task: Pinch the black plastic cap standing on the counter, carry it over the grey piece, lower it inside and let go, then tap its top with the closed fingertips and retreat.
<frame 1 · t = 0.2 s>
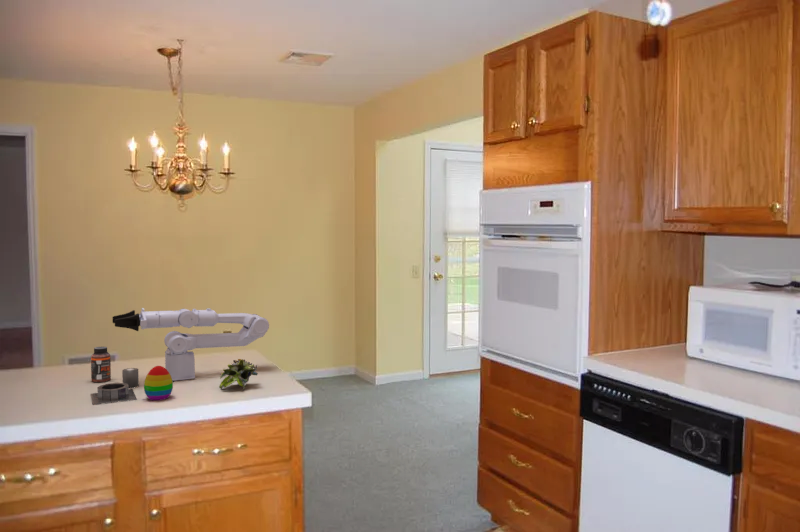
hand: (113, 321, 204), 21 cm above the worktop, tool horizontal, fingers open, 7 cm apart
grey piece: (113, 397, 192), on the worktop
cap: (130, 386, 205), on the worktop
green spiky piece: (239, 388, 204), on the worktop
decorative egg: (158, 398, 192), on the worktop
supplement bottle: (101, 381, 211), on the worktop
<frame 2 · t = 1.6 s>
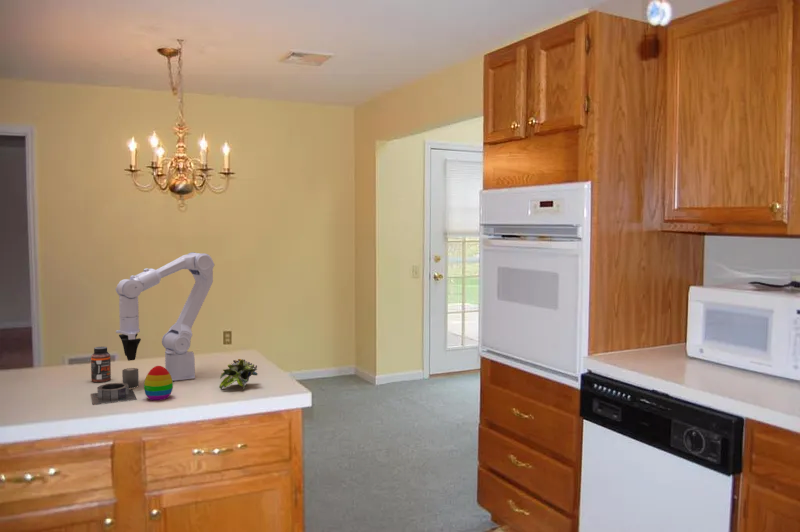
hand: (130, 357, 204), 9 cm above the worktop, tool pointing down, fingers open, 7 cm apart
nothing on the worktop moved.
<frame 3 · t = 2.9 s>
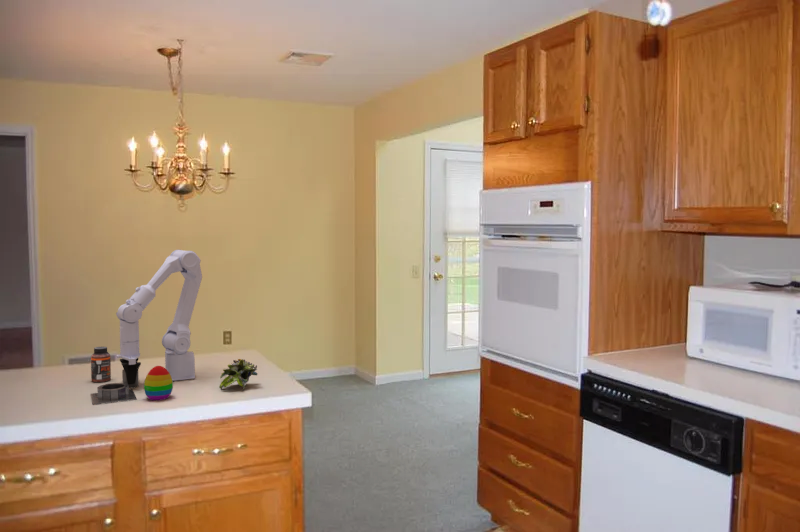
hand: (130, 381, 205), 1 cm above the worktop, tool pointing down, fingers closed on cap, 5 cm apart
cap: (130, 386, 205), on the worktop, touching gripper
everything else where it was.
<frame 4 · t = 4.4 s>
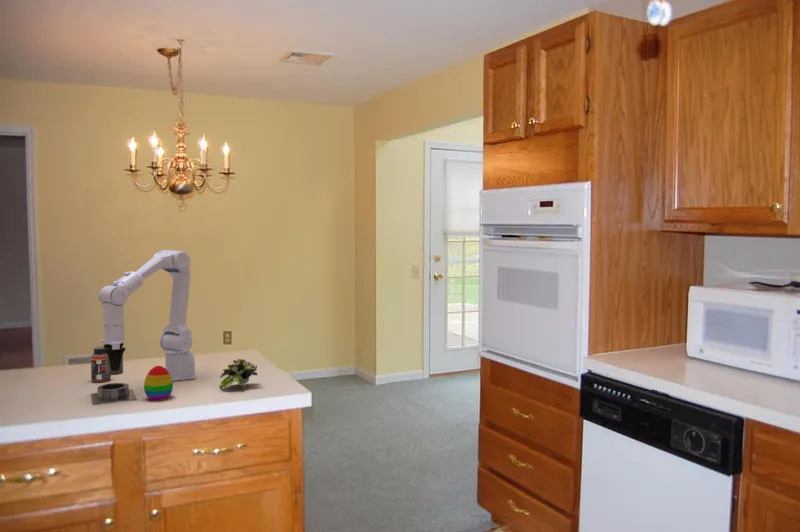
hand: (114, 368, 193), 9 cm above the worktop, tool pointing down, fingers closed on cap, 5 cm apart
cap: (114, 373, 193), point 7 cm above the worktop, touching gripper
everything else where it was.
when the fingers open (3 cm above the worktop, at t = 6.0 s): cap drops 2 cm, resting on grey piece.
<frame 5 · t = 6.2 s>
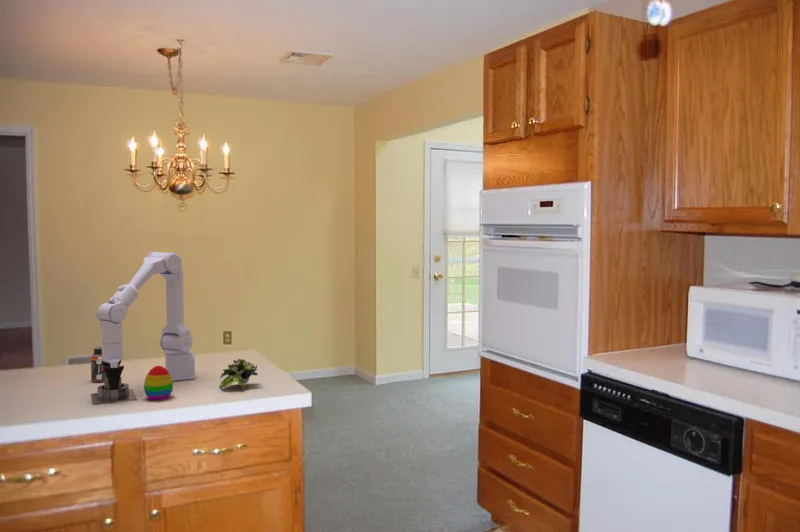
hand: (113, 386, 192), 3 cm above the worktop, tool pointing down, fingers open, 7 cm apart
cap: (113, 396, 192), resting on grey piece
everything else where it was.
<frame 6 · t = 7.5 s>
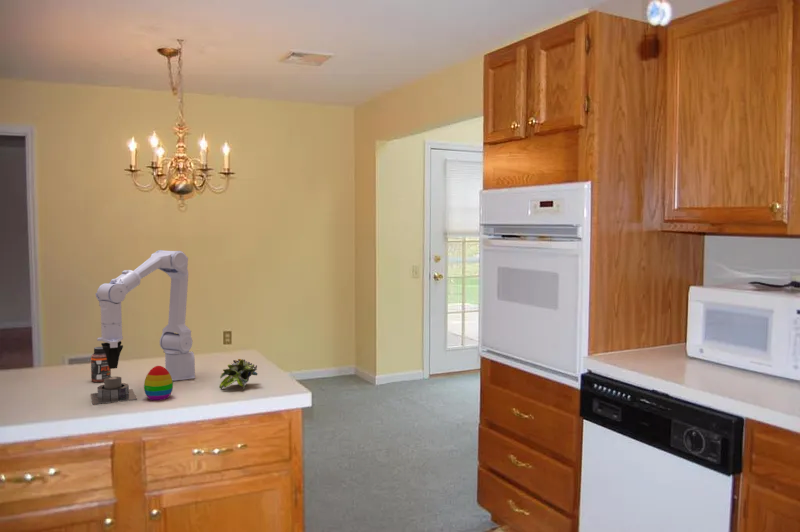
hand: (112, 366, 191), 9 cm above the worktop, tool pointing down, fingers open, 3 cm apart
nothing on the worktop moved.
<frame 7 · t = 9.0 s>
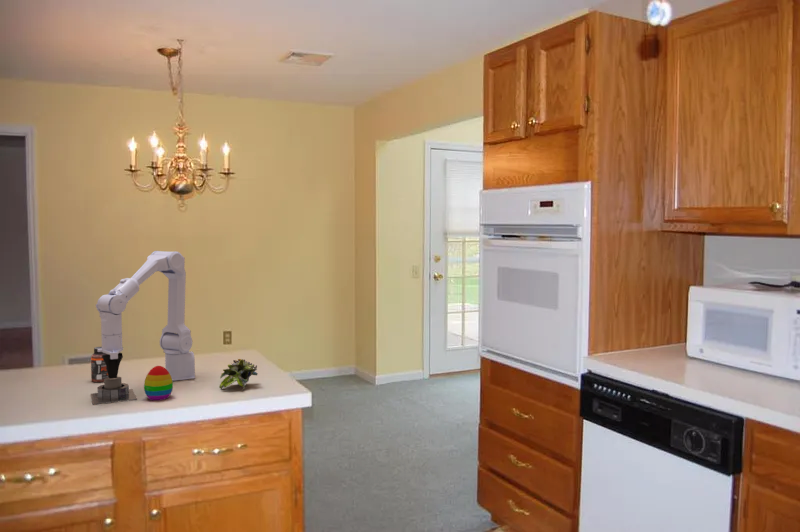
hand: (112, 377, 192), 6 cm above the worktop, tool pointing down, fingers closed
nothing on the worktop moved.
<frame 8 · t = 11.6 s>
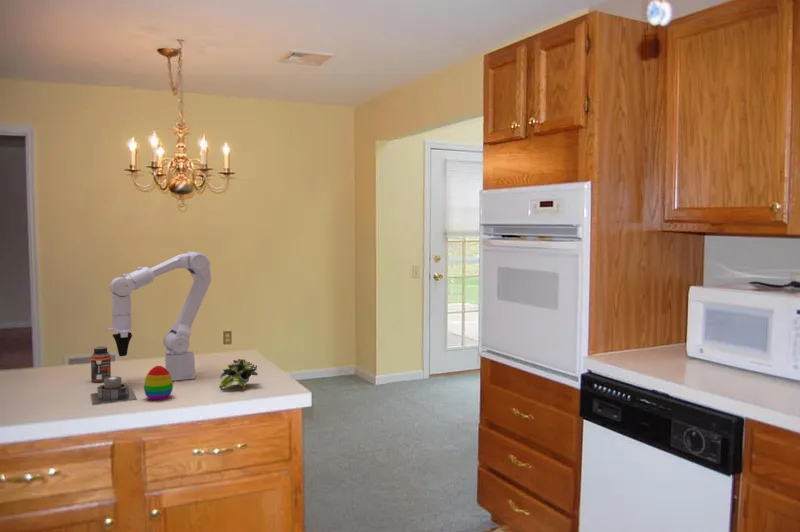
hand: (122, 355, 205), 10 cm above the worktop, tool pointing down, fingers closed
nothing on the worktop moved.
at the end: cap 0.0 cm off-centre on the grey piece, point 0.3 cm above the grey piece's base; cap tilted 0°; the gripper is holding nothing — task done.
